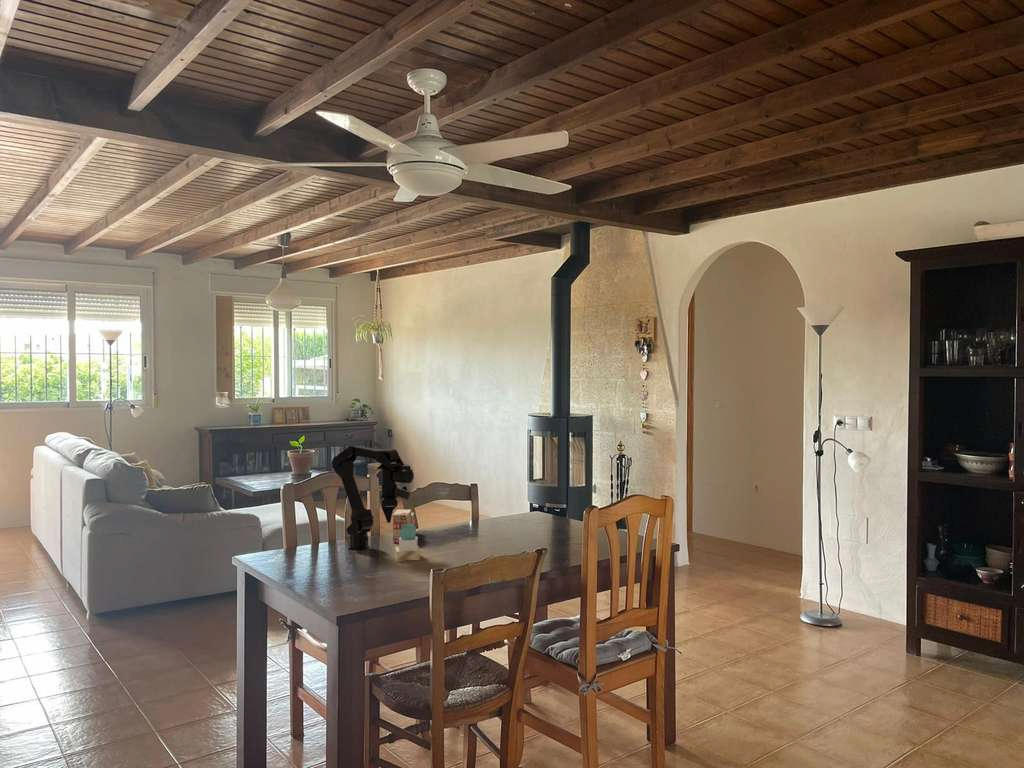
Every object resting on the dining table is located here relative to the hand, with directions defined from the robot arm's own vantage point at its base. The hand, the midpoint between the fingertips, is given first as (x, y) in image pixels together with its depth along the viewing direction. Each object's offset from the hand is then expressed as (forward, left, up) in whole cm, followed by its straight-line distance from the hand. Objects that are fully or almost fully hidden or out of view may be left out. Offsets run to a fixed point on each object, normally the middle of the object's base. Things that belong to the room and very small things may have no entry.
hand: (388, 520), depth 310 cm
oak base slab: (+11, -5, -13) cm, 18 cm away
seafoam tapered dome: (+11, -5, -5) cm, 13 cm away
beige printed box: (-6, +28, -13) cm, 32 cm away
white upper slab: (+11, -5, -9) cm, 15 cm away
